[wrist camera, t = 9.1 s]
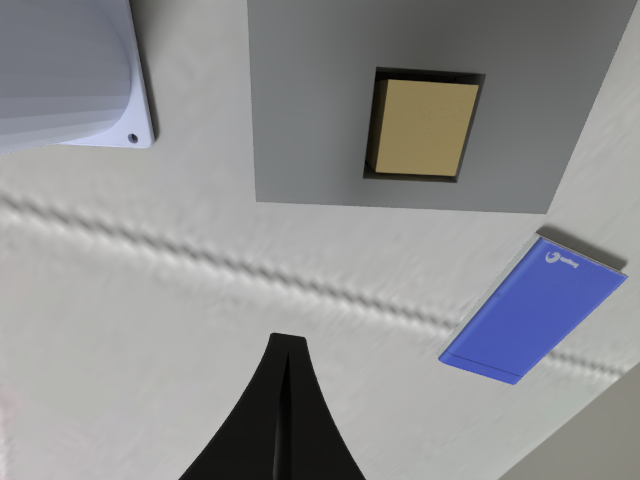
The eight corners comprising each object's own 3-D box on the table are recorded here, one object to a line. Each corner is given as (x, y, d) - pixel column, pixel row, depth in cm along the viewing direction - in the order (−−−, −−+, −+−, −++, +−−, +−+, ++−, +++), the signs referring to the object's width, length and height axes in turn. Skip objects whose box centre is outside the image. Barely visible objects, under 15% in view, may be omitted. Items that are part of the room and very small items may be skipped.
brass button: (365, 159, 17) (375, 171, 14) (374, 81, 15) (388, 79, 13) (432, 163, 17) (455, 175, 15) (449, 86, 16) (478, 85, 13)
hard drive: (545, 239, 19) (439, 363, 24) (632, 278, 21) (517, 386, 26) (529, 229, 21) (432, 348, 26) (612, 266, 22) (506, 371, 27)
